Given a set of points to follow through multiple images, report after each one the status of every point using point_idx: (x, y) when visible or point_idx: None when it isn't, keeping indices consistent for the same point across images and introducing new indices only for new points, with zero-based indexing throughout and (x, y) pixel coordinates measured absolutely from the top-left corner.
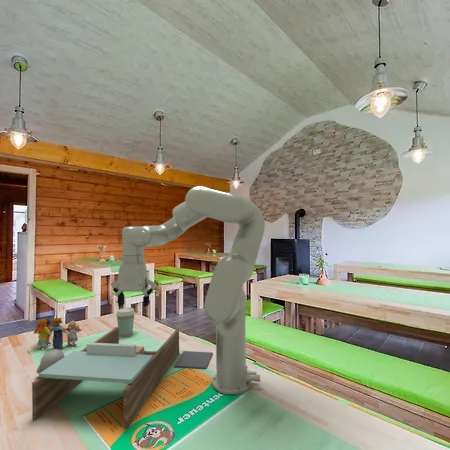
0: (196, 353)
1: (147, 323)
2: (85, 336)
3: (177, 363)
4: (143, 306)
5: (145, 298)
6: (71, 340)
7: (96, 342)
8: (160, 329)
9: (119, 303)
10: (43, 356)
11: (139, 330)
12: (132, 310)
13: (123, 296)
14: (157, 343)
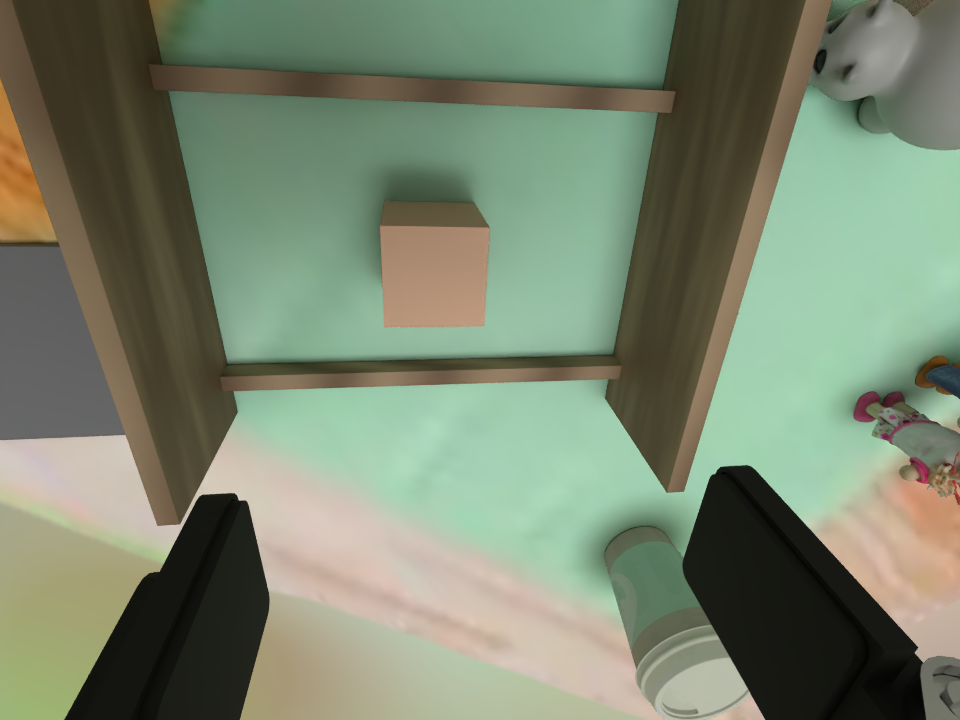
0: (90, 414)
1: (574, 667)
2: (839, 507)
3: None
4: (234, 502)
5: (127, 688)
6: (907, 417)
7: (744, 206)
8: (477, 628)
9: (758, 499)
10: None
11: (585, 602)
12: (657, 694)
13: (772, 693)
14: (419, 498)
